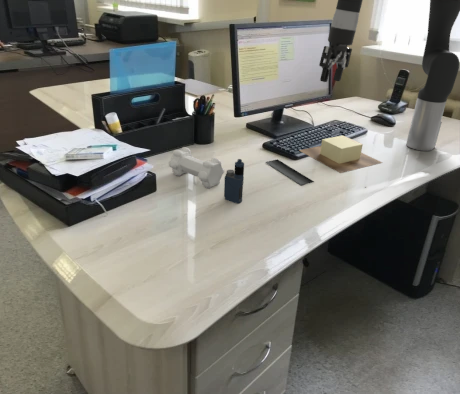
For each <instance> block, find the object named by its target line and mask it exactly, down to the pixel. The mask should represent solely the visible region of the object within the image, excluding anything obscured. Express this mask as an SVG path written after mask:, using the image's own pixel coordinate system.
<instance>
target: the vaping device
mask: <svg viewBox="0 0 460 394" xmlns="http://www.w3.org/2000/svg"><path fill="white" fill-rule="evenodd" d="M244 171H245V162H244V161H243V160H242V159H241V158H238V159H237V161H235V162H234V170H233V169H227V170H226V173H225V176H224V185H223V187H224V188H223V190H224V192H223V197H224V200H225V201H227V202H230V203H233V204H241V203H242V201H243V193H244V192H243V189H244V188H243V187H244V174H245V173H244Z"/></svg>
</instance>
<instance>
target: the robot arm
mask: <svg viewBox="0 0 460 394" xmlns="http://www.w3.org/2000/svg"><path fill="white" fill-rule="evenodd" d="M336 3H337V4H336V8H335V11H334V13H333V17H332V21H331V25H330V30H329V34H328V37H327V41H328V42H329V43H330V46H326V45H325V46H323V50H322V53H321V57H320V61H319V64H318V66H319V67H321V68H322V71H321V74H320V79H319V81H320V82H323V83H328V79H329V77H330V76H329V75H330V72H331V68H332V67H333V66H334V65H335V64H336V68H335V71H334V75H333V81H335V82H336V81H337V82H340V81H341V79H342V76H343V74H344V73H343V72H344V70H345V69H346V68H348V67H349V64H350V60H351V55H352V51H353V49H352V47H350V46H352V45H353V43H354V40H355V39H354V38H355V35H356V31H357V27H358V22H359V17H360V13H361V8H362V5H363V4H362V3H363V0H337V2H336ZM459 14H460V0H429V13H428V25H427V36H426V42H425V47H424V51H423V56H422V62H421V67H422V70H423V72H424V73H425V75H427V77H426V78H427V79H426V81H425V84H424V86H423V87H422V88H420V89H419V90H418V94H417V97H416V101H415V106H414V110H413V114H412V118H411V123H410V126H409V131H408V133H407V139H406V143H405V144H406V146H407V147H408V148H411V149H413V150H417V151H422V152H423V151H424V152H427V151H428V152H429V151H433V149H434V148H435V147H436V143H437V140H438V137H439V133H440V131H441V127H442V126H441V125H442V123H443V122H442V118H443V115H444V110H445V107H446V104H447V100H448V97H449V96H450V95H451V93H452V91H453V89H454V85H455V83H456V79H457V76H458V74H459V69H460V59H459V57H458V55H457V54H455V53H454V52H451V51H450V41H451V34H452V29H453V26H454V25H455V23H456V20H457V18H458V16H459ZM348 46H349V47H348Z"/></svg>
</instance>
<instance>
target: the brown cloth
mask: <svg viewBox="0 0 460 394" xmlns="http://www.w3.org/2000/svg"><path fill="white" fill-rule="evenodd" d="M298 151H299V152H301V153H303V154H304V155H306V156H309V157H310V158H312V159H314V160H316V161H317V162H320V163H321V164H323V165H325V166H326V167H328V168H330V169H332V170H334V171H336V172H337V173H339V174H344V173H347V172H350V171H354V170H359V169H363V168H367V167H368V168H369V167H372V166H375V165H376V166H377V165H379V164H383V162H382V161H380V160H378V159H377V158H374V157H372V156H369V155H368V154H365V153H363V152H361V156H360V159H357V160H353V161H349V162H344V163H340V164H339V163H337V162H335V161H333V160H331V159H329V158H327V157H325V156H323V155H321V154H320V151H321V145H319V146H314V147H307V148H304V149H299V150H298Z"/></svg>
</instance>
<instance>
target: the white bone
mask: <svg viewBox="0 0 460 394" xmlns="http://www.w3.org/2000/svg"><path fill="white" fill-rule="evenodd" d="M168 167H170V168H171V169H172V173H173V175H175V176H177V177H181V176H182V175H183V174H189V175H192V176H194V177H197V178H198V179H199V180H200V181H201V185H202V187H204V188H206V189H210V188H212V187H214V186H218V185H219V184H220V183H221V179H222V177H223V175H224V173H225V169H224V167H223V166H222V161H221V160H220V159H219V158H216V157H212V158H211V160H206V161H204V160H202V159H199V158H196V157H194V156H193V154H192V152H191V149H190V148H189V147H186V146H183V147H181V149H175V150H173V151H172V156H171V158H170V160H169V161H168Z"/></svg>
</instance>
